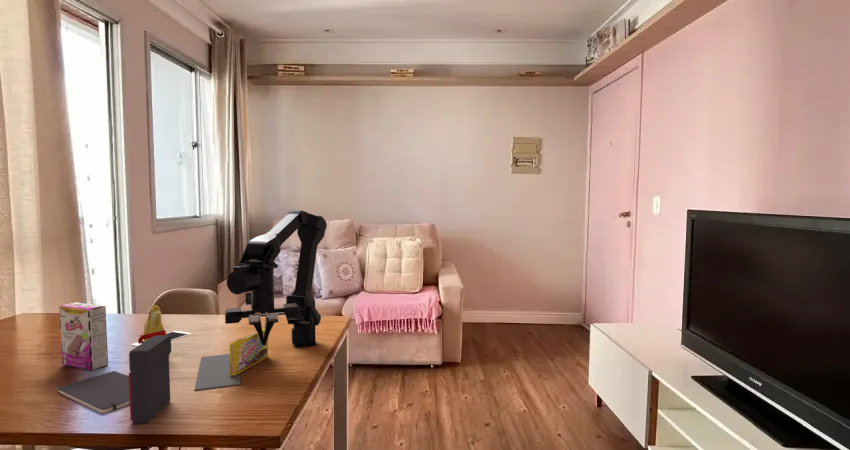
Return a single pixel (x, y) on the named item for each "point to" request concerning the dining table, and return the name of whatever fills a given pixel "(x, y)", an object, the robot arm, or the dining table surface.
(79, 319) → the candy bar box
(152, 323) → the chocolate bunny
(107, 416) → the dining table surface
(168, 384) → the dark grey upright slab
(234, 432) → the dining table surface
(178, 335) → the cell phone
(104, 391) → the notebook
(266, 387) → the dining table surface
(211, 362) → the mat
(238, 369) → the candy box
